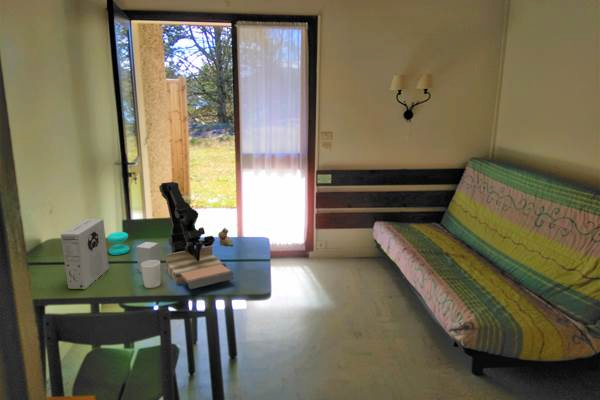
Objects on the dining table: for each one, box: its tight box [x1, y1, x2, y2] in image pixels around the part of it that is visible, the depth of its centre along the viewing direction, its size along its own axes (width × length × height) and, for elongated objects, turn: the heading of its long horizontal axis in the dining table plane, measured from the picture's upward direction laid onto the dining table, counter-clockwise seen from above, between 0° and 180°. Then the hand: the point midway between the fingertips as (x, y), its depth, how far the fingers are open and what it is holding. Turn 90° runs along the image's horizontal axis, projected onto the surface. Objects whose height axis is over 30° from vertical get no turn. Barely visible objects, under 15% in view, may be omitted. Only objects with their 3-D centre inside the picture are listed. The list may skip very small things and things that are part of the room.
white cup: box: [141, 260, 162, 289], centre depth 185 cm, size 8×8×10 cm
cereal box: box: [60, 218, 110, 289], centre depth 189 cm, size 22×8×25 cm, turn 178°
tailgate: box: [180, 264, 234, 290], centre depth 186 cm, size 3×19×13 cm
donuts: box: [106, 231, 131, 256], centre depth 222 cm, size 10×10×10 cm
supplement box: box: [135, 241, 162, 273], centre depth 200 cm, size 7×7×13 cm
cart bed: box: [165, 245, 227, 285], centre depth 197 cm, size 18×23×8 cm
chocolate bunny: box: [217, 227, 234, 247], centre depth 234 cm, size 6×8×10 cm
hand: (198, 260), depth 193 cm, fingers closed
